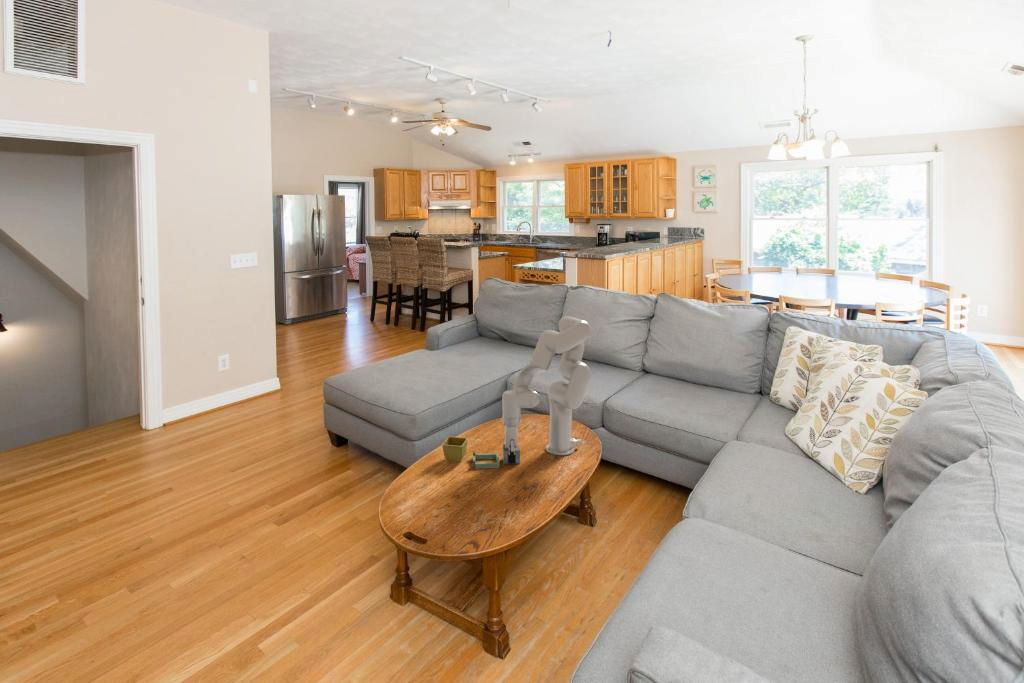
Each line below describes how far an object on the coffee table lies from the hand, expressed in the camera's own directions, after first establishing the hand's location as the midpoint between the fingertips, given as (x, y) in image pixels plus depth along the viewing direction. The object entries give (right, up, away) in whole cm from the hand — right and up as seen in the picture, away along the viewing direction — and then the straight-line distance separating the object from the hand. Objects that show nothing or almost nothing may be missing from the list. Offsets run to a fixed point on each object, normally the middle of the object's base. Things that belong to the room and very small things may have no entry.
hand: (511, 459), depth 242 cm
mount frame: (-11, -1, -1) cm, 11 cm away
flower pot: (-24, -1, +1) cm, 24 cm away
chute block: (0, -1, 0) cm, 1 cm away
